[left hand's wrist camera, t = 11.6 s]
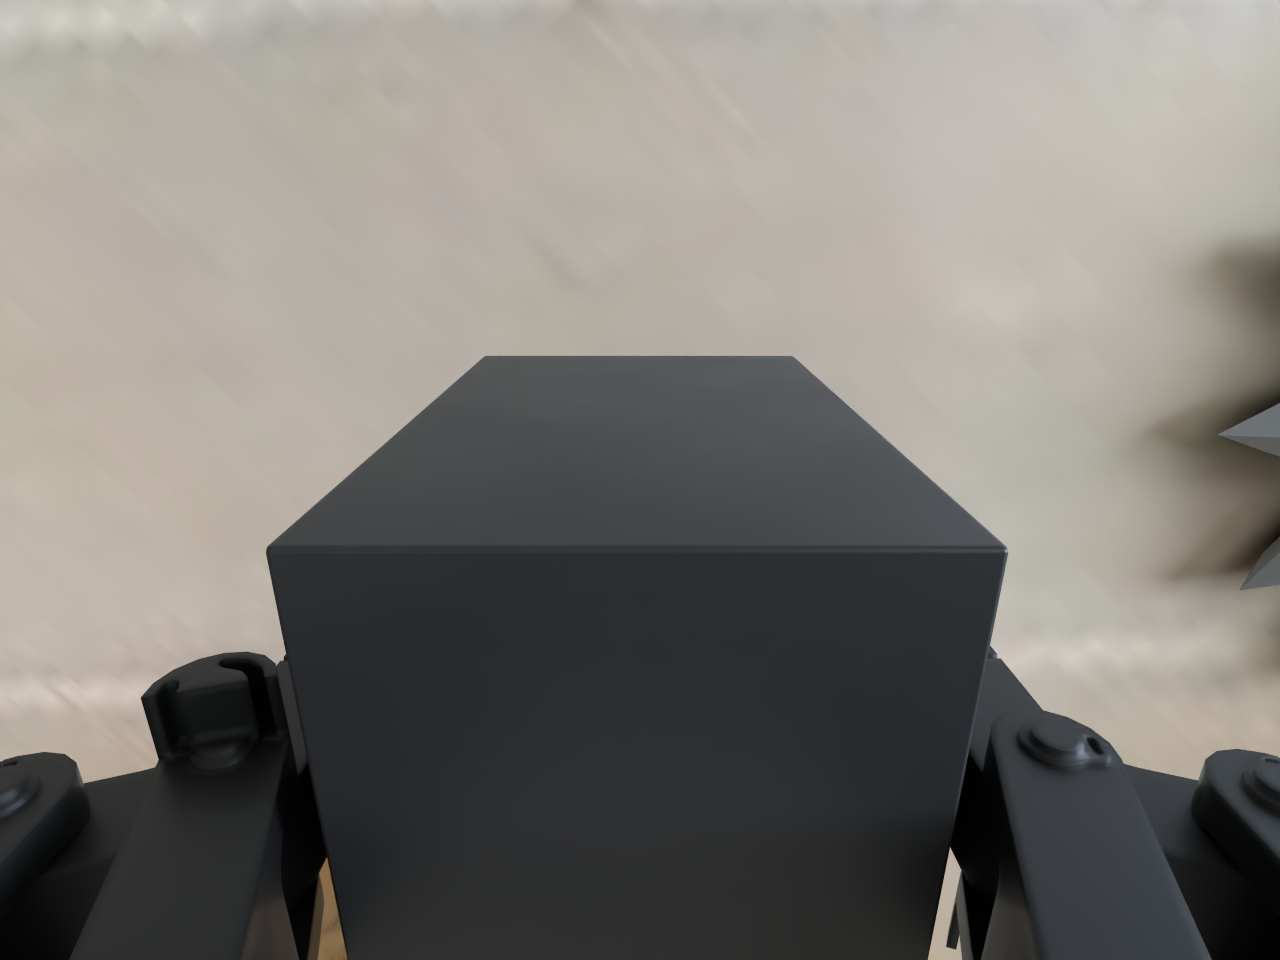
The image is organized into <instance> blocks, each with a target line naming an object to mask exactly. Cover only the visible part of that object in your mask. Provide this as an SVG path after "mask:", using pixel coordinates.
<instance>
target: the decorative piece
mask: <svg viewBox="0 0 1280 960" xmlns="http://www.w3.org/2000/svg"><path fill="white" fill-rule="evenodd" d="M1218 435H1219V436H1222V437H1224V438H1227V439H1230V440H1233V441H1236V442H1239V443H1242V444H1244V445H1247V446H1250V447H1253V448H1256V449H1259V450H1262V451H1264V452H1267V453H1270V454H1273V455H1276V456H1279V457H1280V403H1279V404H1277V405H1275V406H1273V407H1271V408H1269V409H1267V410H1265V411H1263V412H1261V413H1259V414H1257V415H1255V416H1253V417H1251V418H1249V419H1247V420H1245V421H1243V422H1242V423H1240V424H1238V425H1236V426H1234V427H1232V428H1230V429H1228V430H1226V431H1224V432H1222V433H1220V434H1218ZM1276 585H1280V537H1279V538H1278V539H1277V540H1276V541H1275V542H1273V543H1272V544H1271V545H1270V546H1269V547H1268V548H1267V549H1266V550H1265V551H1264V552H1263V553H1262V554H1261V556H1260V558H1259V559H1258V561H1257V562H1256V564H1255V566H1254V567H1253V569H1252V570H1251V572H1250V574H1249V575H1248V577H1247V579H1246V580H1245V582H1244V583H1243V585H1242V587H1241V588H1240V590H1244V589H1252V588H1260V587H1268V586H1276Z"/></svg>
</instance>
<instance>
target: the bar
mask: <svg viewBox="0 0 1280 960" xmlns="http://www.w3.org/2000/svg"><path fill="white" fill-rule="evenodd" d="M266 555H267V560H268V565H269V570H270V575H271V580H272V585H273V590H274V595H275V600H276V605H277V610H278V615H279V620H280V625H281V630H282V635H283V640H284V645H285V650H286V655H287V660H288V665H289V670H290V675H291V680H292V685H293V690H294V695H295V700H296V705H297V710H298V715H299V720H300V725H301V730H302V735H303V740H304V745H305V750H306V755H307V760H308V765H309V770H310V775H311V780H312V785H313V790H314V795H315V800H316V805H317V810H318V815H319V820H320V825H321V830H322V835H323V840H324V845H325V850H326V855H327V860H328V865H329V870H330V875H331V880H332V885H333V890H334V895H335V900H336V905H337V910H338V915H339V920H340V925H341V930H342V935H343V940H344V945H345V950H346V955H347V960H928V955H929V950H930V945H931V940H932V935H933V930H934V925H935V920H936V915H937V910H938V905H939V900H940V894H941V889H942V884H943V879H944V874H945V869H946V864H947V859H948V854H949V849H950V844H951V839H952V834H953V829H954V824H955V819H956V814H957V809H958V804H959V798H960V793H961V788H962V783H963V778H964V773H965V768H966V763H967V758H968V753H969V748H970V743H971V738H972V733H973V728H974V723H975V718H976V713H977V708H978V702H979V697H980V692H981V687H982V682H983V677H984V672H985V667H986V662H987V657H988V652H989V647H990V642H991V637H992V632H993V627H994V622H995V617H996V612H997V606H998V601H999V596H1000V591H1001V586H1002V581H1003V576H1004V571H1005V566H1006V561H1007V556H1008V551H1007V547H1006V546H1005V545H1004V544H1003V543H1002V542H1000V541H999V540H998V539H997V538H996V537H995V536H994V535H993V534H991V533H990V532H989V531H988V530H987V529H986V528H985V527H984V526H982V525H981V524H980V523H979V522H978V521H977V520H976V519H975V518H974V517H972V516H971V515H970V514H969V513H968V512H967V511H966V510H965V509H963V508H962V507H961V506H960V505H959V504H958V503H957V502H956V501H954V500H953V499H952V498H951V497H950V496H949V495H948V494H947V493H945V492H944V491H943V490H942V489H941V488H940V487H939V486H938V485H937V484H935V483H934V482H933V481H932V480H931V479H930V478H929V477H928V476H926V475H925V474H924V473H923V472H922V471H921V470H920V469H919V468H917V467H916V466H915V465H914V464H913V463H912V462H911V461H910V460H909V459H907V458H906V457H905V456H904V455H903V454H902V453H901V452H900V451H898V450H897V449H896V448H895V447H894V446H893V445H892V444H891V443H889V442H888V441H887V440H886V439H885V438H884V437H883V436H882V435H880V434H879V433H878V432H877V431H876V430H875V429H874V428H873V427H872V426H870V425H869V424H868V423H867V422H866V421H865V420H864V419H863V418H861V417H860V416H859V415H858V414H857V413H856V412H855V411H854V410H852V409H851V408H850V407H849V406H848V405H847V404H846V403H845V402H844V401H842V400H841V399H840V398H839V397H838V396H837V395H836V394H835V393H833V392H832V391H831V390H830V389H829V388H828V387H827V386H826V385H824V384H823V383H822V382H821V381H820V380H819V379H818V378H817V377H816V376H814V375H813V374H812V373H811V372H810V371H809V370H808V369H807V368H805V367H804V366H803V365H802V364H801V363H800V362H799V361H798V360H796V359H795V358H794V357H792V356H485V357H483V358H482V359H481V360H480V361H479V362H478V363H477V364H475V365H474V366H473V367H472V368H471V369H470V370H469V371H468V372H466V373H465V374H464V375H463V376H462V377H461V378H460V379H458V380H457V381H456V382H455V383H454V384H453V385H452V386H450V387H449V388H448V389H447V390H446V391H445V392H444V393H442V394H441V395H440V396H439V397H438V398H437V399H436V400H434V401H433V402H432V403H431V404H430V405H429V406H428V407H426V408H425V409H424V410H423V411H422V412H421V413H420V414H418V415H417V416H416V417H415V418H414V419H413V420H412V421H410V422H409V423H408V424H407V425H406V426H405V427H404V428H402V429H401V430H400V431H399V432H398V433H397V434H396V435H394V436H393V437H392V438H391V439H390V440H389V441H388V442H386V443H385V444H384V445H383V446H382V447H381V448H380V449H378V450H377V451H376V452H375V453H374V454H373V455H372V456H370V457H369V458H368V459H367V460H366V461H365V462H364V463H362V464H361V465H360V466H359V467H358V468H357V469H356V470H354V471H353V472H352V473H351V474H350V475H349V476H348V477H346V478H345V479H344V480H343V481H342V482H341V483H340V484H338V485H337V486H336V487H335V488H334V489H333V490H332V491H330V492H329V493H328V494H327V495H326V496H325V497H324V498H322V499H321V500H320V501H319V502H318V503H317V504H316V505H314V506H313V507H312V508H311V509H310V510H309V511H308V512H306V513H305V514H304V515H303V516H302V517H301V518H300V519H298V520H297V521H296V522H295V523H294V524H293V525H292V526H290V527H289V528H288V529H287V530H286V531H285V532H284V533H282V534H281V535H280V536H279V537H278V538H277V539H276V540H274V541H273V542H272V543H271V544H270V545H269V546H268V547H267V551H266Z"/></svg>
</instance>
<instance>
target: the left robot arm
mask: <svg viewBox="0 0 1280 960" xmlns="http://www.w3.org/2000/svg"><path fill="white" fill-rule="evenodd" d="M141 700H142V704H143V707H144V711H145V714H146V717H147V721H148V724H149V728H150V731H151V734H152V738H153V741H154V745H155V748H156V752H157V755H158V758H159V761H158V763H157V765H156V767H155V768H151V769H148V770H144V771H140V772H135V773H130V774H126V775H121V776H116V777H112V778H107V779H103V780H98V781H93V782H89V783H84V784H83V781H82V778H81V775H80V772H79V769H78V766H77V764H76V762H75V761H73V760H72V759H71V758H69V757H68V756H67V755H65V754H58V753H49V752H41V753H35V754H29V755H22V756H17V757H13V758H9V759H6V760H4V761H2V762H0V960H318V954H319V945H320V936H321V927H322V918H323V910H324V896H323V889H322V883H321V879H320V874H319V873H320V871H321V868H322V866H323V864H324V862H325V860H326V858H327V855H326V850H325V845H324V840H323V835H322V830H321V825H320V820H319V815H318V810H317V805H316V800H315V795H314V790H313V785H312V780H311V775H310V770H309V765H308V760H307V755H306V750H305V745H304V740H303V735H302V730H301V725H300V720H299V715H298V710H297V705H296V700H295V695H294V690H293V685H292V680H291V675H290V670H289V665H288V660H287V655H285V656H284V661H280V662H279V663H278V665H277V666H276V664H275V663H274V662H273V661H272V660H270V659H269V658H268V657H266V656H265V655H261V654H256V653H251V652H235V653H222V654H218V655H214V656H210V657H206V658H202V659H198V660H196V661H193V662H191V663H188V664H186V665H184V666H181V667H179V668H177V669H174V670H173V671H171V672H170V673H168V674H167V675H165V676H163V677H162V678H160V679H159V680H157V681H156V682H154V683H153V684H152V685H151V687H150V688H149V689H148V690H147V691H146V692H145V693H144V695H143V696H142V697H141ZM950 847H951V850H952V852H953V854H954V856H955V858H956V860H957V862H958V864H959V866H960V868H961V874H960V879H959V883H958V888H957V893H956V898H955V903H954V907H953V912H952V917H951V922H950V926H949V931H948V938H947V945H946V947H949V948H952V949H956V947H957V943H958V938H959V934H960V943H961V952H962V960H1280V758H1278V757H1277V756H1273V755H1269V754H1265V753H1260V752H1253V751H1247V750H1241V749H1233V750H1223V751H1216V752H1215V753H1214V754H1212V755H1211V756H1210V757H1208V758H1207V759H1206V760H1205V763H1204V766H1203V768H1202V771H1201V774H1200V777H1199V780H1198V781H1197V780H1193V779H1188V778H1183V777H1178V776H1174V775H1169V774H1164V773H1160V772H1155V771H1150V770H1146V769H1141V768H1137V767H1133V766H1130V765H1126V764H1123V762H1122V759H1121V758H1120V757H1119V755H1118V754H1117V752H1116V751H1115V750H1114V748H1113V747H1112V746H1111V744H1110V743H1109V742H1108V741H1106V740H1105V739H1104V738H1102V737H1101V736H1100V735H1098V734H1097V733H1096V732H1094V731H1093V730H1092V729H1091V728H1089V727H1087V726H1084V725H1082V724H1080V723H1078V722H1076V721H1074V720H1072V719H1070V718H1068V717H1065V716H1061V715H1058V714H1054V713H1051V712H1047V711H1043V710H1042V709H1041V707H1040V706H1039V705H1038V704H1037V702H1036V701H1035V700H1034V699H1033V698H1032V696H1031V695H1030V694H1029V693H1028V691H1027V690H1026V689H1025V688H1024V687H1023V685H1022V684H1021V683H1020V682H1019V680H1018V679H1017V678H1016V677H1015V676H1014V674H1013V673H1012V672H1011V671H1010V669H1009V668H1008V667H1007V666H1006V665H1005V663H1004V662H1003V661H1002V660H1001V659H998V658H997V654H996V652H995V651H994V650H993V649H992V647H991V646H990V647H989V652H988V657H987V662H986V667H985V672H984V677H983V682H982V687H981V692H980V697H979V702H978V708H977V713H976V718H975V723H974V728H973V733H972V738H971V743H970V748H969V753H968V758H967V763H966V768H965V773H964V778H963V783H962V788H961V793H960V798H959V804H958V809H957V814H956V819H955V824H954V829H953V834H952V839H951V844H950Z"/></svg>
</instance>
